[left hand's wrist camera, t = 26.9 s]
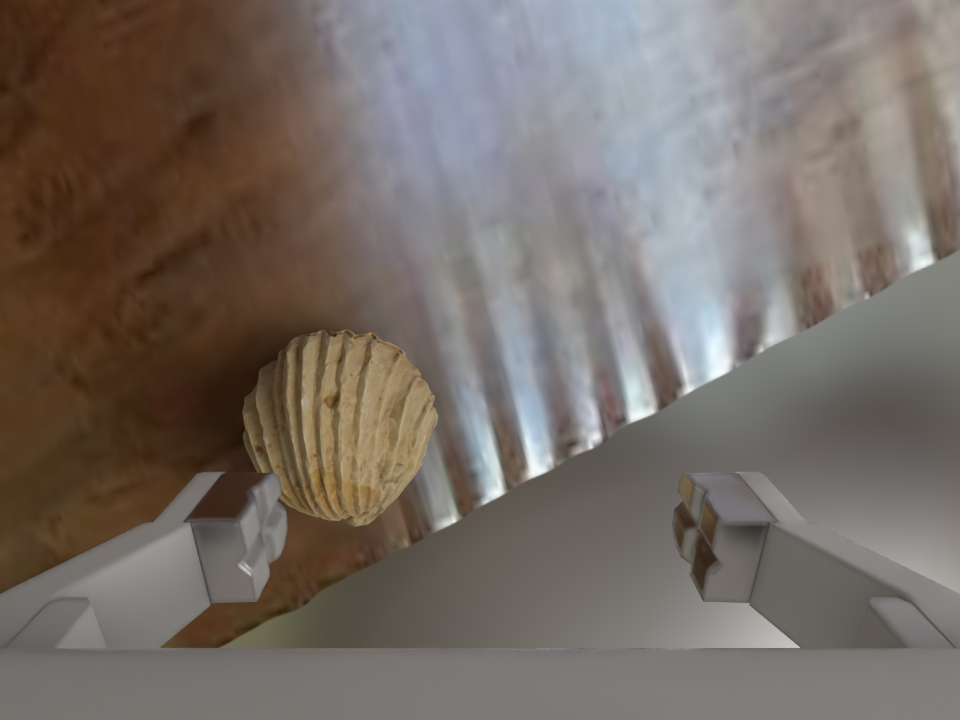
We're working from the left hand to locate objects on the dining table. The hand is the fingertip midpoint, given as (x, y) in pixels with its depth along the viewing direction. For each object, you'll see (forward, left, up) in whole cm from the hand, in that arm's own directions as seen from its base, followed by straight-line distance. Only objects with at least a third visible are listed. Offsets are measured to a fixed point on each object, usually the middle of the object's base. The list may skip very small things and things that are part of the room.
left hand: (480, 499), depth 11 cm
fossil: (+18, 0, -36) cm, 40 cm away
